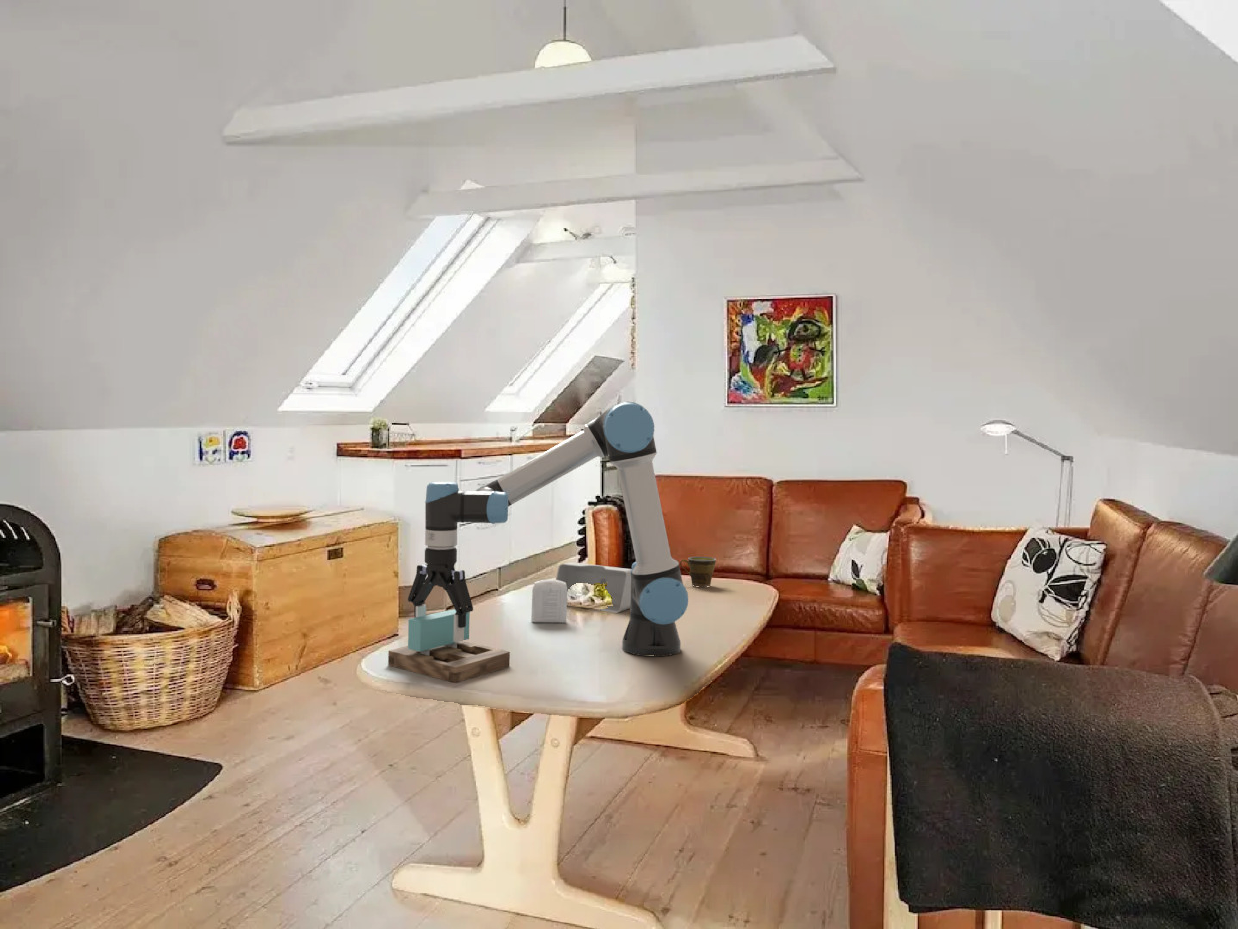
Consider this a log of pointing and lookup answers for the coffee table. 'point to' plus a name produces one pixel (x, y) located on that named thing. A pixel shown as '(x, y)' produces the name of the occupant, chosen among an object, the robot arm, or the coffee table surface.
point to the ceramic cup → (700, 570)
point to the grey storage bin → (600, 581)
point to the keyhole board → (451, 661)
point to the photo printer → (549, 601)
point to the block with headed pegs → (434, 631)
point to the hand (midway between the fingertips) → (439, 636)
